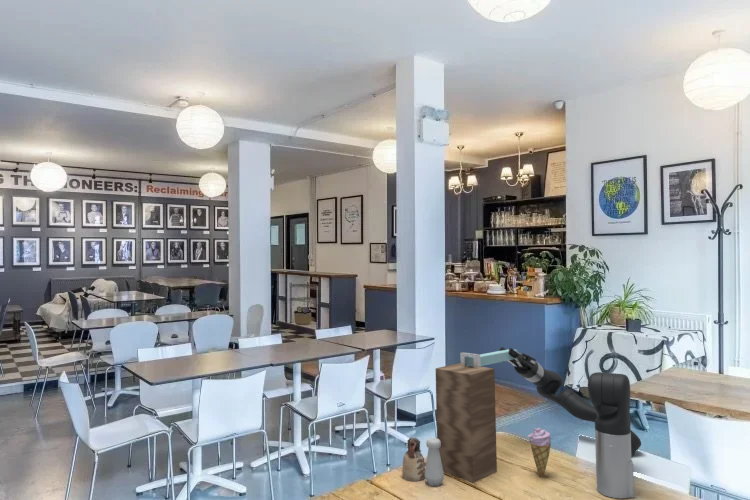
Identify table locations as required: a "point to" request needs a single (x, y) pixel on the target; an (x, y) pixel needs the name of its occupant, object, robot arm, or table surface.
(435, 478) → the salt shaker
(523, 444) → the table surface
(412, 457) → the figurine
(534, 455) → the ice cream cone
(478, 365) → the arch
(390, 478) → the table surface
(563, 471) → the table surface
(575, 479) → the table surface
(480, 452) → the plinth
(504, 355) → the peg
